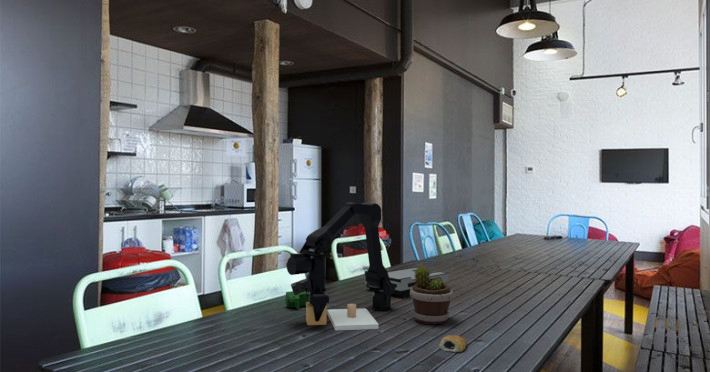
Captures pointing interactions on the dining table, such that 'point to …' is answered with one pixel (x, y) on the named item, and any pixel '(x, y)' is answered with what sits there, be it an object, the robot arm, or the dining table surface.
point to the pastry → (453, 343)
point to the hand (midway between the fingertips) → (316, 318)
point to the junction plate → (352, 318)
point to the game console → (408, 280)
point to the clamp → (296, 299)
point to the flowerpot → (430, 298)
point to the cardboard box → (311, 317)
